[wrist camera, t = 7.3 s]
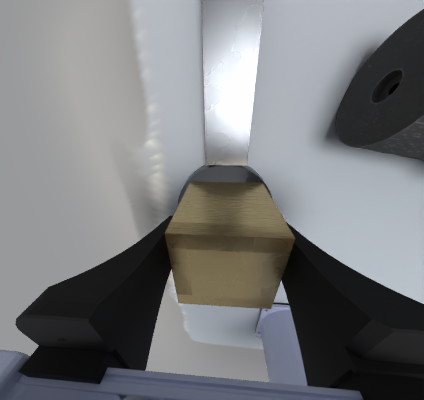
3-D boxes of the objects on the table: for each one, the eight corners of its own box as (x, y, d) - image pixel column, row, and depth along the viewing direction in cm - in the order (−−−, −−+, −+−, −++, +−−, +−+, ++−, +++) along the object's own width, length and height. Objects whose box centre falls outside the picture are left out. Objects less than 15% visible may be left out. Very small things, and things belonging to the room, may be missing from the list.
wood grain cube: (253, 237, 14) (270, 309, 9) (194, 235, 14) (178, 303, 9) (262, 182, 12) (295, 238, 6) (190, 181, 12) (164, 233, 7)
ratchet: (260, 236, 16) (273, 276, 12) (186, 233, 17) (174, 271, 13) (351, -227, 6) (700, -1158, 1) (136, -199, 6) (-43, -856, 2)
